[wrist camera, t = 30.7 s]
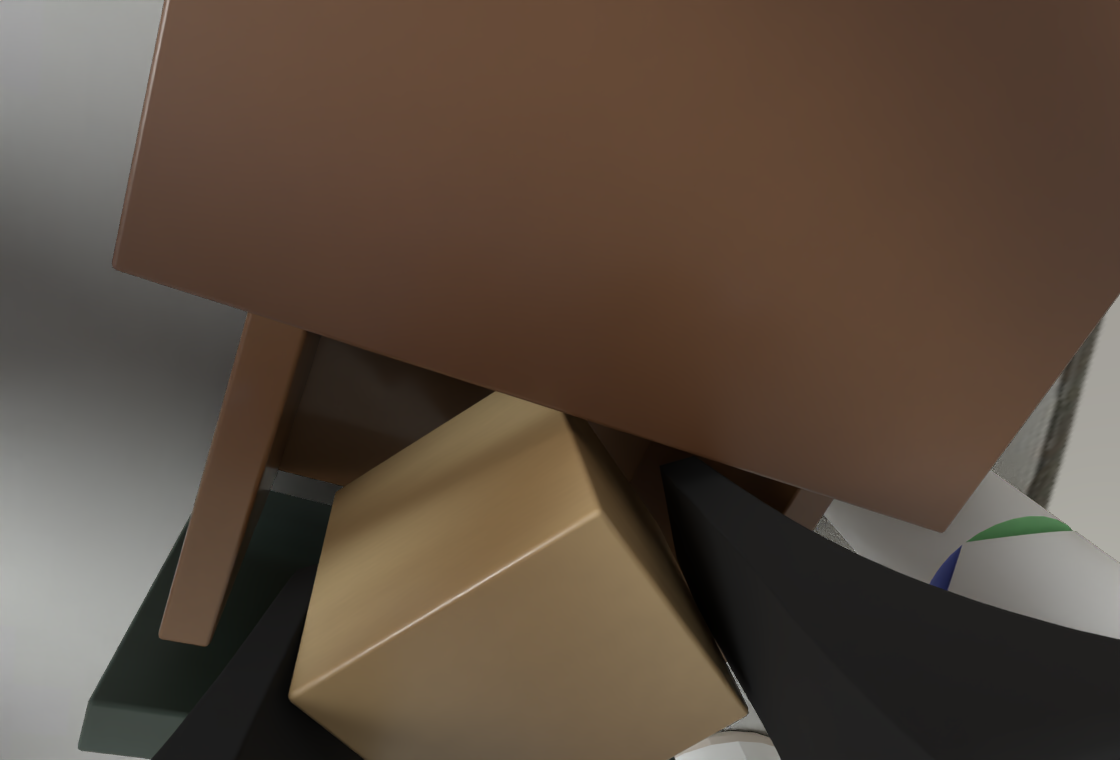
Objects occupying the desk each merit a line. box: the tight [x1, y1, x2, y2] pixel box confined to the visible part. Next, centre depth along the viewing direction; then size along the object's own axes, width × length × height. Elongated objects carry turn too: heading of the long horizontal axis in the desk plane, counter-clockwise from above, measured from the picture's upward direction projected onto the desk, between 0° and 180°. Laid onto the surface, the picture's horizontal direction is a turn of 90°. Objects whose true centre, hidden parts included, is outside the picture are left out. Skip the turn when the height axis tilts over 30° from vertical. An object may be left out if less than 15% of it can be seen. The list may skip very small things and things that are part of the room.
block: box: [288, 391, 749, 760], centre depth 11 cm, size 4×4×4 cm
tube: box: [824, 470, 1120, 639], centre depth 15 cm, size 4×4×15 cm
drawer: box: [78, 312, 833, 760], centre depth 15 cm, size 17×11×7 cm
